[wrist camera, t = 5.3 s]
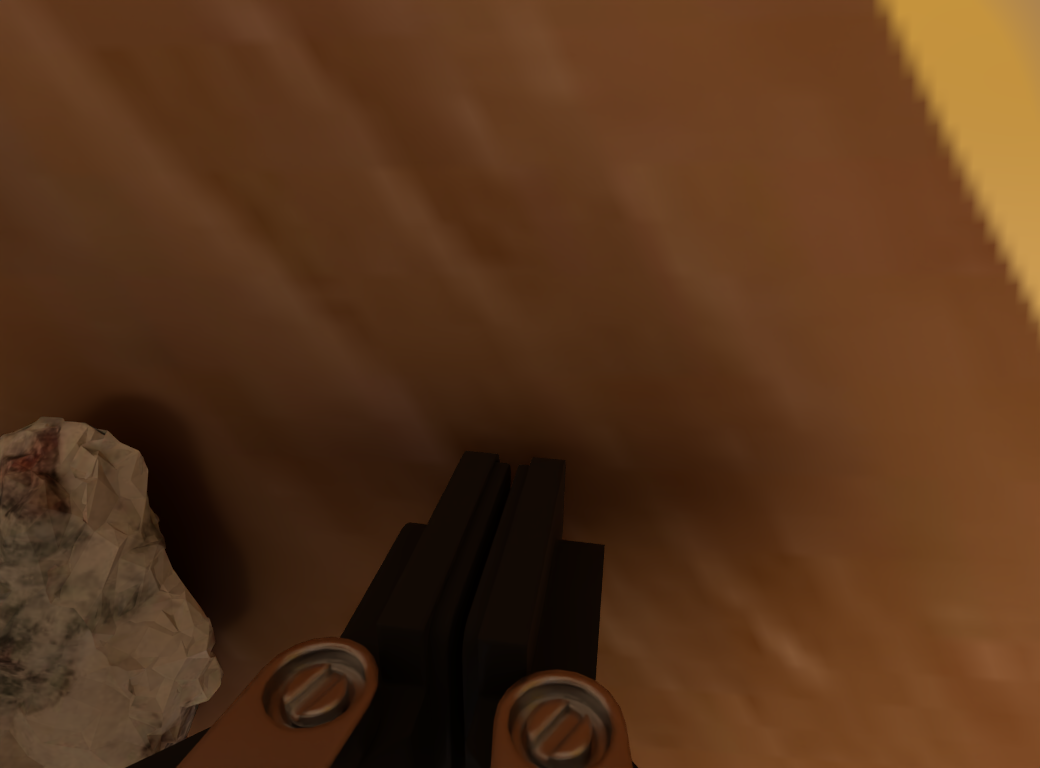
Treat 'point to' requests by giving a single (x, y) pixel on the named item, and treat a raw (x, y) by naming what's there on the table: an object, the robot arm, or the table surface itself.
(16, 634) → the mineral rock
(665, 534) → the table surface
